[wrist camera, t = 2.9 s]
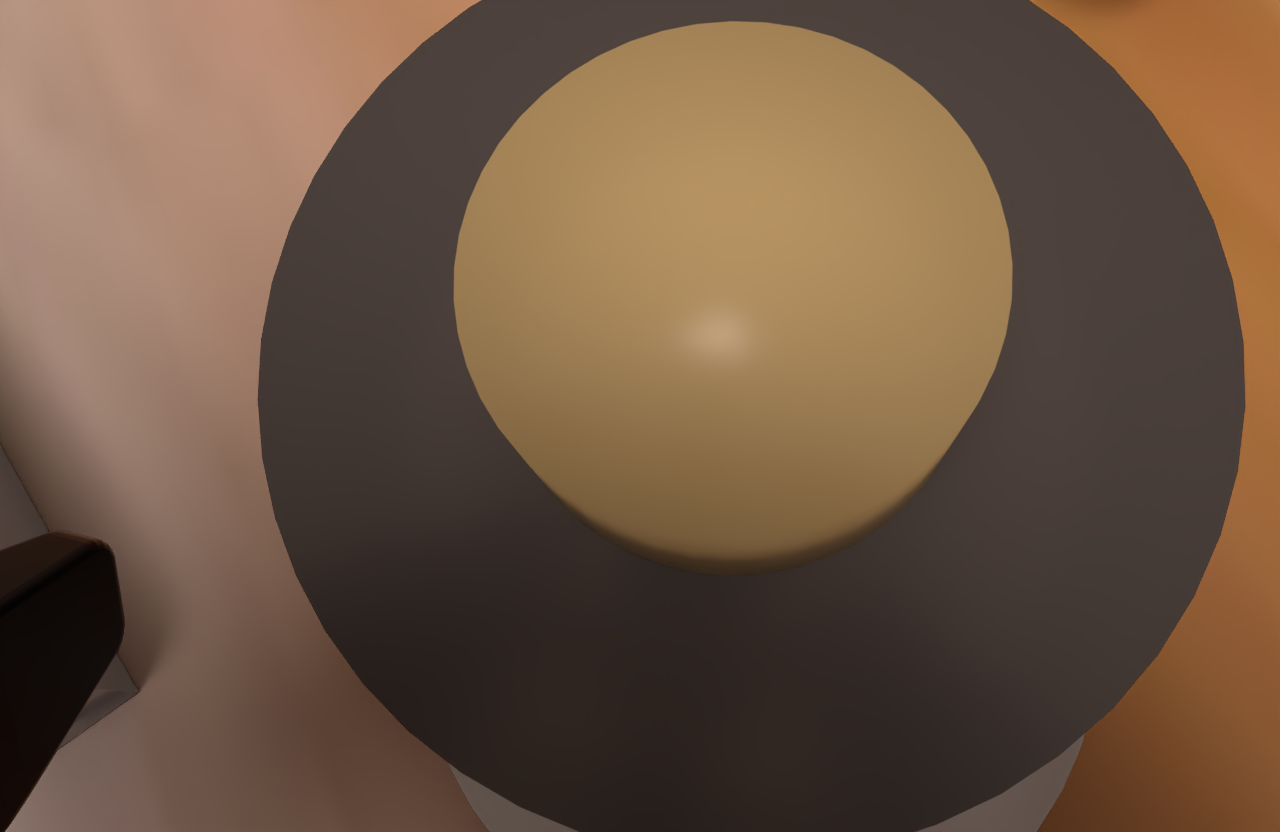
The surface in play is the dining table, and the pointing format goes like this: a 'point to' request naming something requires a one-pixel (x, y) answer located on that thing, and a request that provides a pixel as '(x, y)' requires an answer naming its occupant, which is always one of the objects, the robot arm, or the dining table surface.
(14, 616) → the robot arm
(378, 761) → the dining table surface
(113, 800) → the dining table surface
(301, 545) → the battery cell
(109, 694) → the dish
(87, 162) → the dining table surface
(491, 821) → the pad
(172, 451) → the dining table surface
